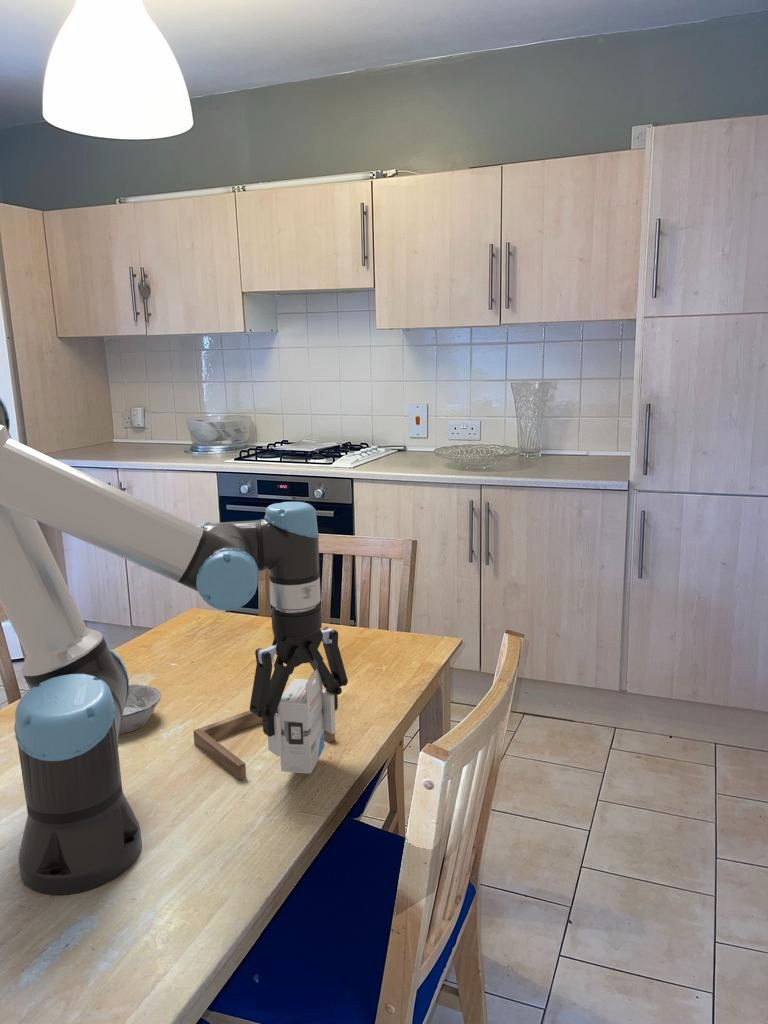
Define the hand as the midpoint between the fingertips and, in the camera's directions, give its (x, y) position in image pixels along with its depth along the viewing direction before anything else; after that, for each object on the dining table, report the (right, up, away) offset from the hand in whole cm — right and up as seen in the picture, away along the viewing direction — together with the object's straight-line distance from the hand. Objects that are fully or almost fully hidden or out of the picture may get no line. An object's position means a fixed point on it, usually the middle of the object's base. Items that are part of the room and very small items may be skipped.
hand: (302, 741), depth 122 cm
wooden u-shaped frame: (-7, -3, +10) cm, 12 cm away
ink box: (0, -3, +1) cm, 3 cm away
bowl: (-34, -2, +18) cm, 39 cm away
